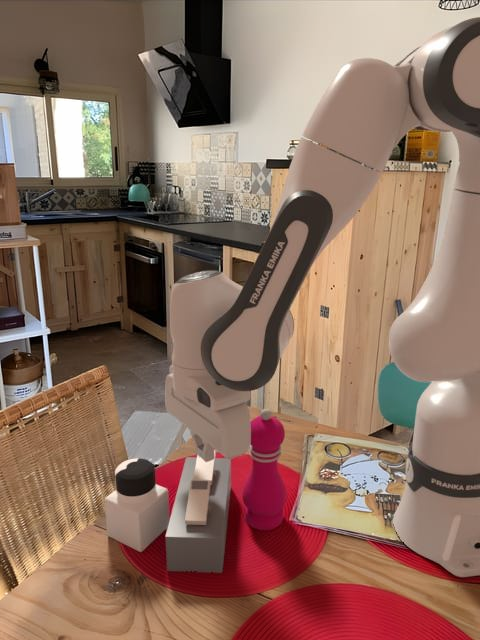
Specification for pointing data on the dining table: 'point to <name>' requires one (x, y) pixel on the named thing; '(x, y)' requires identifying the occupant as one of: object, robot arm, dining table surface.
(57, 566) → the dining table surface
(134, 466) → the medicine bottle
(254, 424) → the pepper mill
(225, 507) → the breaker panel
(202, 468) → the paddle
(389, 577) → the dining table surface
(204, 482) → the paddle on
